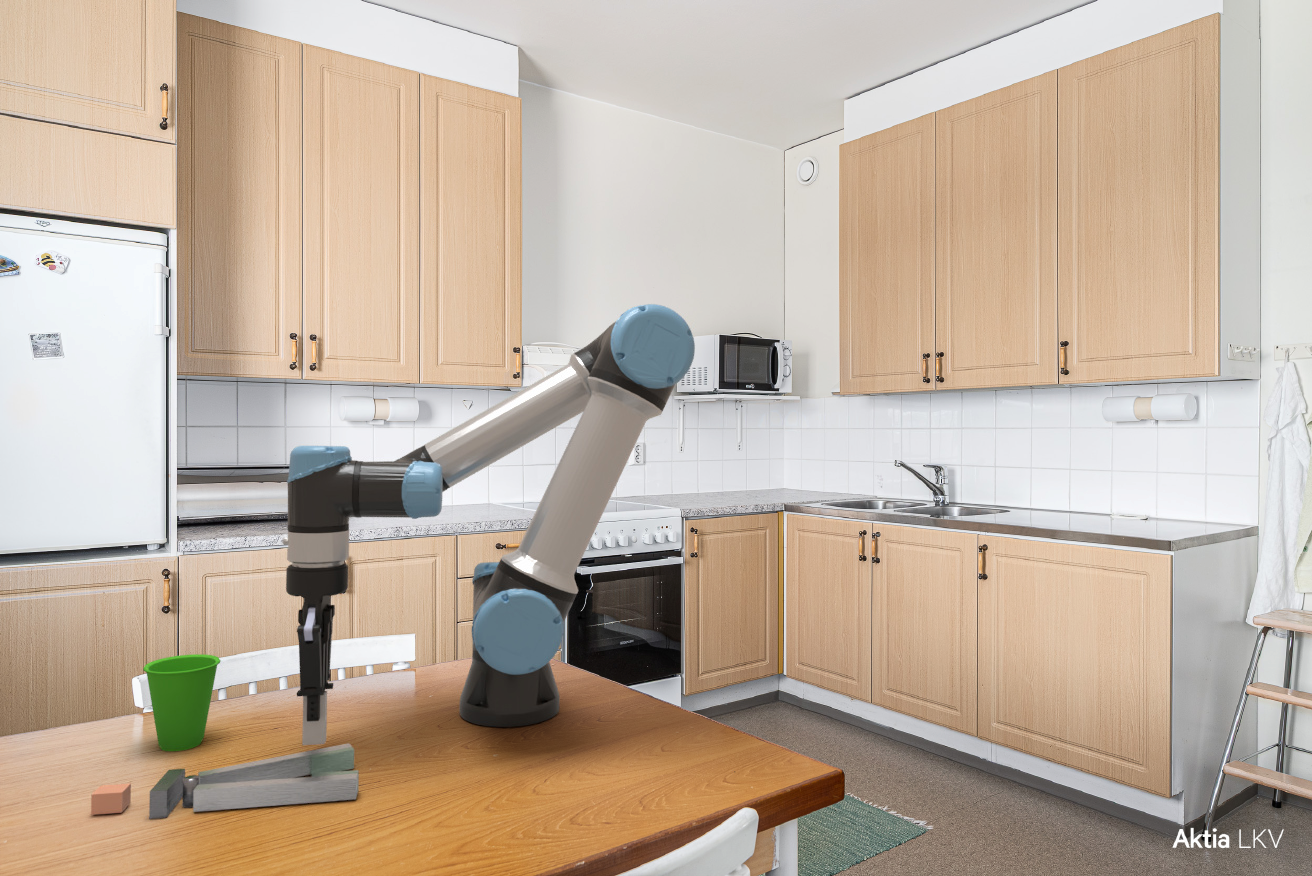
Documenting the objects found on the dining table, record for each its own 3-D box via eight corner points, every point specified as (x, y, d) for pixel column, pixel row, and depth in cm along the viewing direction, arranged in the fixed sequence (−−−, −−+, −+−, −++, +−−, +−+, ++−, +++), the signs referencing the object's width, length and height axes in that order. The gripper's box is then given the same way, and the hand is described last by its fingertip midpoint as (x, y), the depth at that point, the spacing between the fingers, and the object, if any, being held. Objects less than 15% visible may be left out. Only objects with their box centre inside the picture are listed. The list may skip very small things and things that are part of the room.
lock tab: (130, 802, 93) (130, 783, 93) (121, 812, 91) (122, 792, 91) (100, 805, 92) (100, 785, 92) (91, 814, 90) (91, 794, 90)
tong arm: (348, 762, 106) (349, 743, 106) (354, 768, 104) (354, 749, 104) (197, 792, 96) (198, 772, 96) (200, 800, 94) (200, 779, 94)
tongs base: (361, 781, 100) (361, 756, 100) (355, 802, 95) (355, 776, 95) (168, 795, 96) (168, 769, 96) (149, 818, 90) (149, 791, 90)
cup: (185, 760, 106) (186, 674, 106) (124, 753, 108) (126, 669, 108) (234, 735, 115) (235, 656, 115) (177, 730, 117) (179, 652, 117)
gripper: (297, 556, 114) (293, 727, 114) (275, 571, 101) (272, 763, 101) (354, 555, 116) (351, 724, 116) (340, 570, 103) (337, 759, 103)
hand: (314, 742), depth 108 cm, fingers closed
